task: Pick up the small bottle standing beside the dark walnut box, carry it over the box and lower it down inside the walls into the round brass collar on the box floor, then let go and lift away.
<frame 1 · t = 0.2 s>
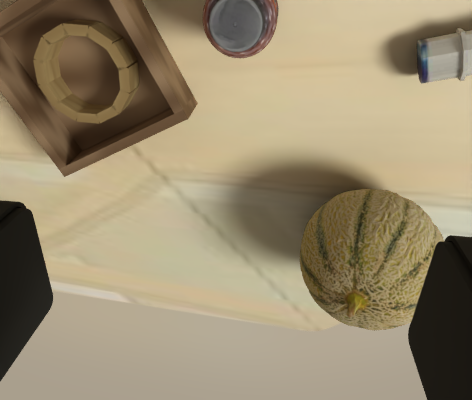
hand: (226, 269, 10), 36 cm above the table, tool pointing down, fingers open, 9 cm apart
walled box: (97, 67, 44), on the table
cantaloupe: (358, 219, 51), on the table
supplement bottle: (247, 9, 40), on the table
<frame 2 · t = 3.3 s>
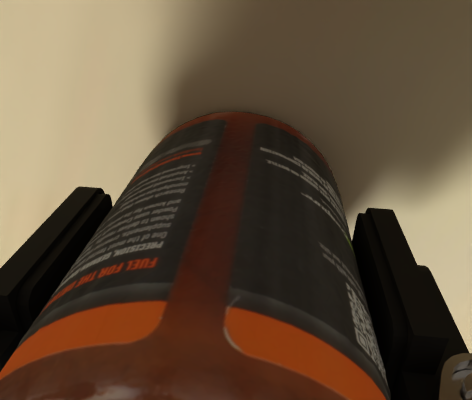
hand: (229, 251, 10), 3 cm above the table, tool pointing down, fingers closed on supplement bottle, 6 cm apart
supplement bottle: (239, 197, 13), on the table, touching gripper
when the fingers open (5 cm above the table, at t = 9.7 s): supplement bottle drops 1 cm, resting on walled box.
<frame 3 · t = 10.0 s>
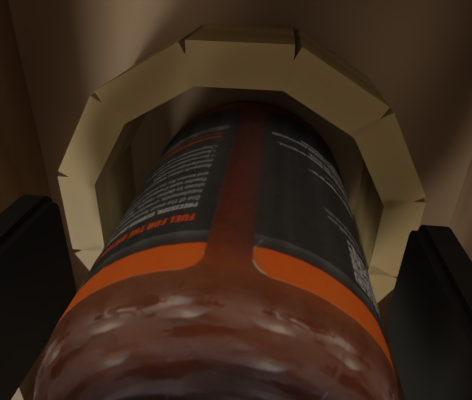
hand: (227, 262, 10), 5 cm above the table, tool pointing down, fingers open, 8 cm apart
walled box: (245, 169, 15), on the table
supplement bottle: (250, 181, 14), point 1 cm above the table, touching walled box
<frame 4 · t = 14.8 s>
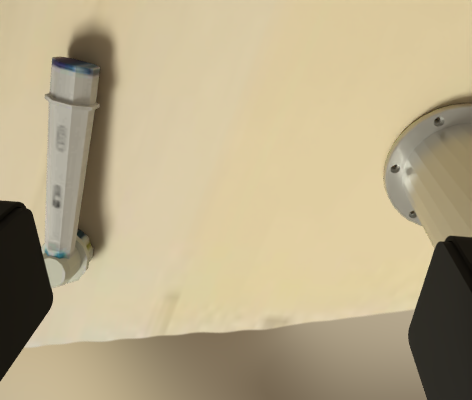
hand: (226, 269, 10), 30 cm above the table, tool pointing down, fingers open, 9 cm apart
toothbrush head: (80, 173, 45), on the table
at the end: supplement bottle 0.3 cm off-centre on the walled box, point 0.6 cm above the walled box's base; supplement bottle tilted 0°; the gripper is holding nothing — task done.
